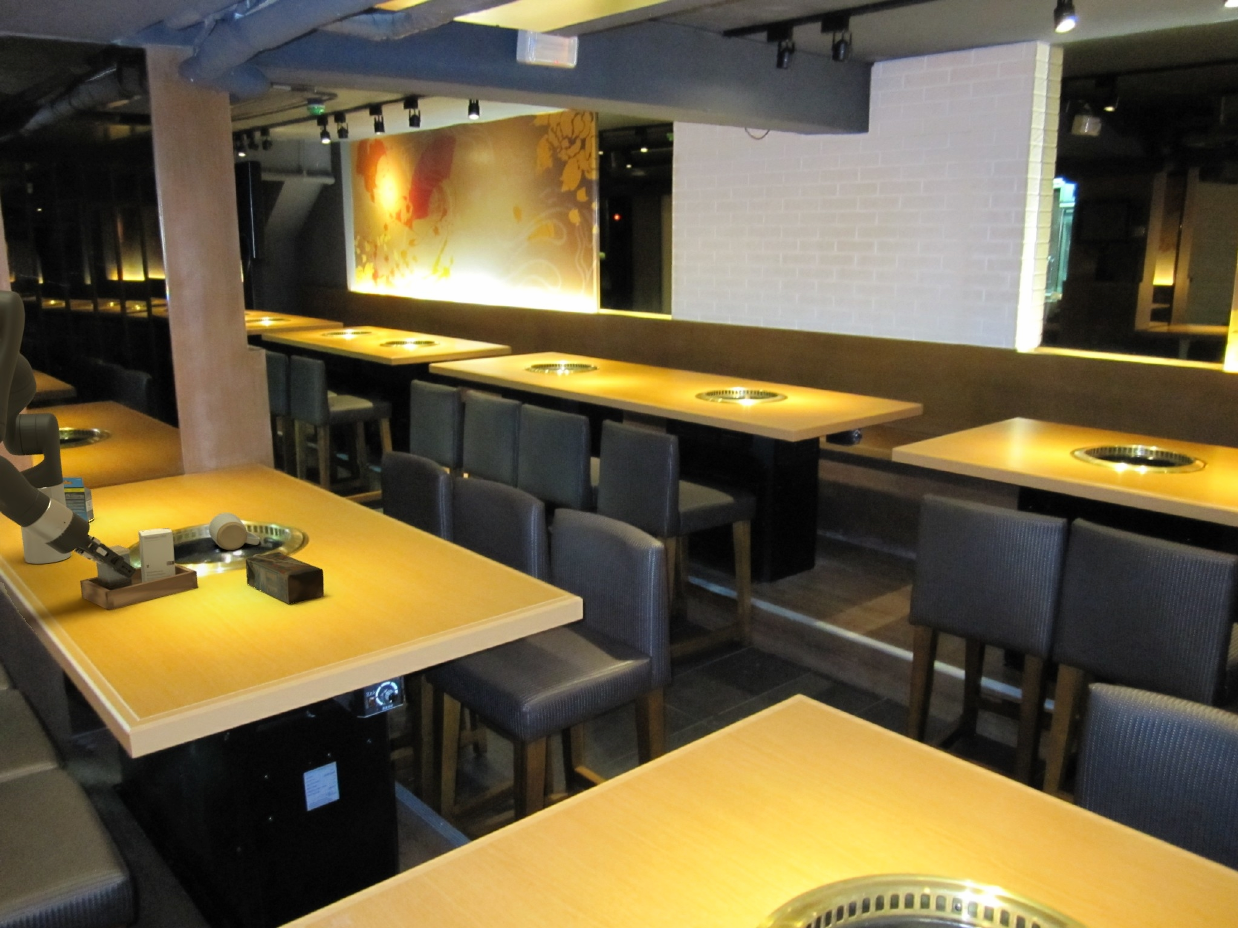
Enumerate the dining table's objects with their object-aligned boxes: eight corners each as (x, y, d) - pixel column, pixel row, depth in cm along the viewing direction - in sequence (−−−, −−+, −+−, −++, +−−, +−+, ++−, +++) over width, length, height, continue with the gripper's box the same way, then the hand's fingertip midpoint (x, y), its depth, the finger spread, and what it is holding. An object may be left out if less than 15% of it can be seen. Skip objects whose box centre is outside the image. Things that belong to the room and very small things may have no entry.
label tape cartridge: (95, 520, 261) (90, 474, 259) (87, 524, 258) (83, 477, 255) (60, 520, 261) (55, 474, 259) (52, 524, 257) (47, 477, 255)
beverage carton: (281, 577, 215) (279, 547, 213) (326, 597, 201) (325, 566, 200) (245, 585, 209) (243, 554, 208) (289, 607, 196) (287, 575, 194)
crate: (81, 597, 200) (80, 580, 200) (169, 576, 214) (167, 560, 213) (109, 610, 193) (107, 592, 192) (197, 587, 207) (196, 571, 206)
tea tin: (99, 598, 200) (94, 550, 198) (123, 592, 203) (118, 545, 201) (110, 603, 197) (105, 554, 195) (134, 597, 200) (129, 549, 198)
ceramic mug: (217, 553, 231) (215, 521, 230) (209, 545, 238) (207, 514, 236) (264, 547, 237) (262, 516, 236) (255, 539, 244) (253, 509, 242)
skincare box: (145, 593, 203) (140, 535, 201) (142, 587, 207) (136, 530, 204) (178, 588, 206) (173, 531, 204) (174, 582, 210) (169, 526, 208)
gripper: (85, 514, 186) (153, 561, 197) (53, 503, 195) (119, 548, 206) (58, 548, 183) (129, 593, 194) (26, 535, 192) (96, 579, 203)
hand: (124, 570), depth 200 cm, fingers open, 6 cm apart
